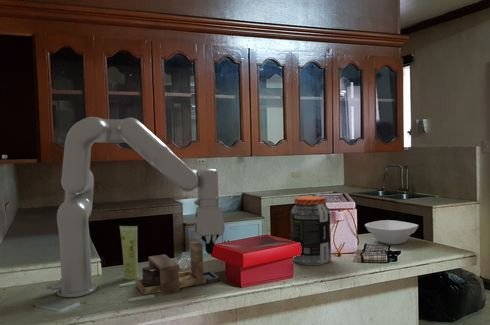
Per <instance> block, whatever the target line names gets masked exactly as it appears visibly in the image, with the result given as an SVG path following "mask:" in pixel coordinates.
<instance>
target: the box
mask: <svg viewBox="0 0 490 325" xmlns="http://www.w3.org/2000/svg"><path fill="white" fill-rule="evenodd" d="M142 279H143V286H144V287H145V288H146V287H152V286H157V285H160V270H159V269H158V268H157V267H156V266H155V265H151V266H149V265H148V266H145V267H142Z"/></svg>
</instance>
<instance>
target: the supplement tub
mask: <svg viewBox="0 0 490 325" xmlns="http://www.w3.org/2000/svg"><path fill="white" fill-rule="evenodd" d="M290 224H291V226H290V228H291V242H292V241H295V242H300V243H301V246H302V253H301V255H300V256H296V257H294V258H293V259H292V260H293V261H294V262H295V263H297V264H299V265H307V266H320V265H323V264H326V263H328V262H330V261H331V260H332V251H331V250H332V246H331V245H332V243H331V242H332V241H331V236H332V234H331V211H330V208H329V206H327V201H326V197H325V196H318V195H317V196H316V195H308V196H307V195H306V196H305V195H304V196H296V197H295V198H294V206H293V207H292V209H291V212H290Z"/></svg>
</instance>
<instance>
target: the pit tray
mask: <svg viewBox="0 0 490 325" xmlns="http://www.w3.org/2000/svg"><path fill="white" fill-rule="evenodd" d="M203 274H204V277H206V283H205V284H209V283H215V282H221V281H220V280H221V278H220V276H218V275H217V274H215V273H214V272H212V271H211V270H208V271H203Z"/></svg>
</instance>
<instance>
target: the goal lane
mask: <svg viewBox="0 0 490 325" xmlns="http://www.w3.org/2000/svg"><path fill="white" fill-rule="evenodd" d="M118 286H119V288H125V287H130V286H136V281H133V282H127V283H122V284H121V283H119V285H118ZM154 298H155V294H154V293H151V294H146V295H142V296H136V297H132V298H128V299H127V300H128V302H129V303H133V302H134V303H135V302H138V301H142V300H149V299H154Z"/></svg>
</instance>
